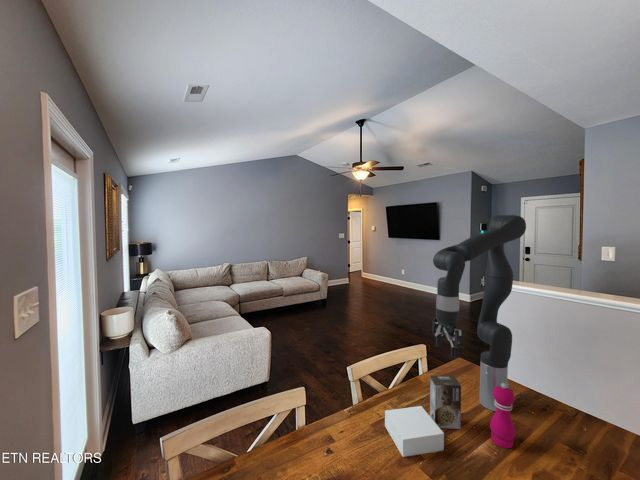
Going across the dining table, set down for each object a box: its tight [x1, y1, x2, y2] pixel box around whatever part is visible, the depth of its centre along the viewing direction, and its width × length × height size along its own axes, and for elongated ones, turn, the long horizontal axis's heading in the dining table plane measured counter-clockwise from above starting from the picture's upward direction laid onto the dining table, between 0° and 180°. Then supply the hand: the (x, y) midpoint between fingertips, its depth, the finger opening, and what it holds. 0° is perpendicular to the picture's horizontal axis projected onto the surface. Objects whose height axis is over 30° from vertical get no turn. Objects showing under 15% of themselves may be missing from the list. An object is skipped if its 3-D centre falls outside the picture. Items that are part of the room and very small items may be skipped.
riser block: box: [384, 405, 445, 458], centre depth 98 cm, size 14×14×6 cm
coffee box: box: [429, 374, 462, 430], centre depth 105 cm, size 9×6×16 cm
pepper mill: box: [489, 383, 516, 449], centre depth 96 cm, size 7×7×20 cm
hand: (446, 351), depth 104 cm, fingers open, 8 cm apart
